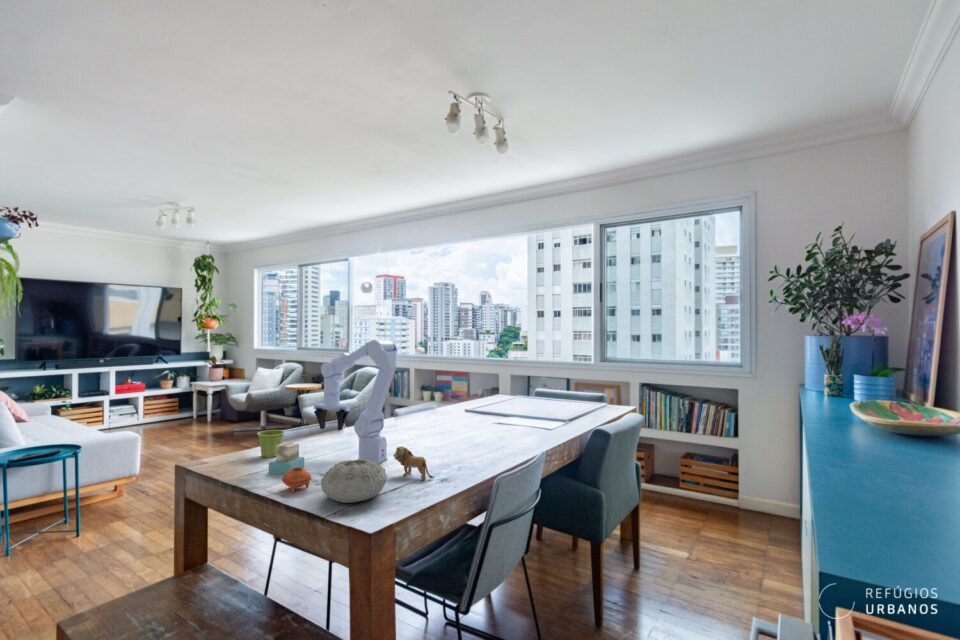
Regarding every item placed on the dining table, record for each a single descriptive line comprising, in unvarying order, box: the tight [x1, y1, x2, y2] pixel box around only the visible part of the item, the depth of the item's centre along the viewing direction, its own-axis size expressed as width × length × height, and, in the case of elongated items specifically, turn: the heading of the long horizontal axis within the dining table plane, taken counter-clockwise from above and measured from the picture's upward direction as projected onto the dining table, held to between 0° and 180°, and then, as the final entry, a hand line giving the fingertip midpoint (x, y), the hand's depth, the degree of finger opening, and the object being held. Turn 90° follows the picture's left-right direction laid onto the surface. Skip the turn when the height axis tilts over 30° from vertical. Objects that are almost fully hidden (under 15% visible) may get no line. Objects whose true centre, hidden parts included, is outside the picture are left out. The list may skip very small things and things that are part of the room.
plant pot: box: [257, 429, 285, 459], centre depth 177 cm, size 9×9×9 cm
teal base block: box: [268, 456, 305, 475], centre depth 159 cm, size 8×8×4 cm
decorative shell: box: [320, 459, 388, 504], centre depth 134 cm, size 18×18×10 cm
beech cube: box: [275, 441, 300, 462], centre depth 159 cm, size 5×5×5 cm
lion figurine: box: [393, 446, 434, 481], centre depth 154 cm, size 15×5×9 cm, turn 63°
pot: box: [281, 467, 312, 493], centre depth 141 cm, size 8×8×7 cm
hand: (331, 429), depth 180 cm, fingers open, 7 cm apart
